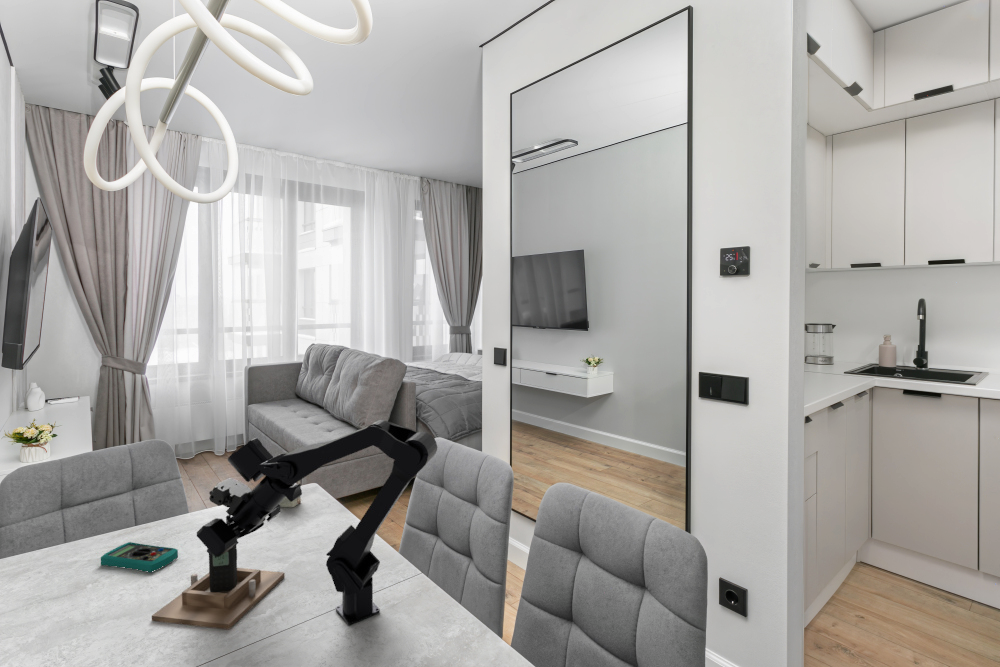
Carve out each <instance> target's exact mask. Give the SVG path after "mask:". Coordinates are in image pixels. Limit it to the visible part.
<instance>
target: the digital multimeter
mask: <svg viewBox="0 0 1000 667" xmlns="http://www.w3.org/2000/svg"><path fill="white" fill-rule="evenodd" d="M178 551H179V550H178V549H177V548H174V547H169V546H167V547H165V546H158V545H152V544H151V545H150V544H144V543H138V542H131V541H128V542H126V543H124V544H121V545H119V546H117V547H115V548H113V549H111V550H110V551H107V552H106V553H104V554H103V555H102V556H101V557H100V565H101V566H103V565H108V566H107V567H111V566H117V567H116V568H120V567H125V568H124V569H127V568H132V569H131V570H133V569H138V570H137V571H139V570H142V571H141V572H145V571H148V572H147V573H150V572H151V573H153V572H152V571H154V570H156V571H158V570H160V569H162V568H163V567H162V566H164V567H166V566H168V565H169V564H171V563H172V562H174V561H175V560H176V559H177V558H178V557H179V556H178V554H179V552H178ZM174 559H175V560H174ZM173 560H174V561H173ZM170 562H171V563H170ZM167 564H168V565H167ZM165 565H166V566H165ZM161 567H162V568H161ZM159 568H160V569H159ZM157 569H158V570H157ZM154 572H155V571H154Z"/></svg>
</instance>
